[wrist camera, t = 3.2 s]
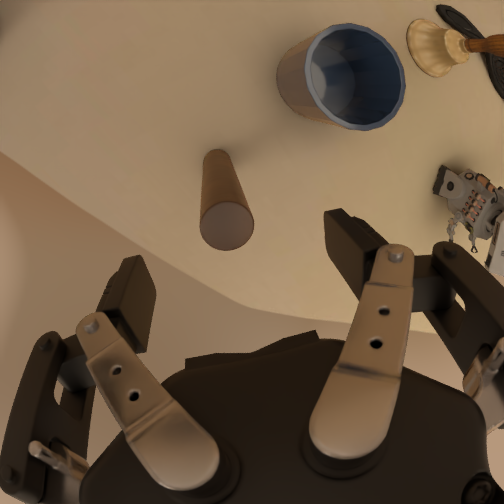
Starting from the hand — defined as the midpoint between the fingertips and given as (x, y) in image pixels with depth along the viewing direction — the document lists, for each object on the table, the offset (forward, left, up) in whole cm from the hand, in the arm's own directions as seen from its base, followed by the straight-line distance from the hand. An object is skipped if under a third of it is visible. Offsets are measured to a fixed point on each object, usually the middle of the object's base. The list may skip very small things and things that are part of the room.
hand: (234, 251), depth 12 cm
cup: (+12, +7, -19) cm, 23 cm away
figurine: (+32, -10, -19) cm, 38 cm away
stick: (0, 0, -19) cm, 19 cm away
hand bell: (+29, +12, -19) cm, 37 cm away
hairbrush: (+43, +13, -19) cm, 49 cm away
